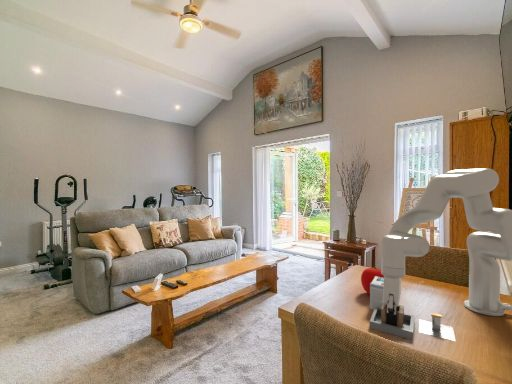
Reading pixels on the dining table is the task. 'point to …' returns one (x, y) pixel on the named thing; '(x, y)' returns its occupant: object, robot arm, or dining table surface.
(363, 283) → the red rounded piece
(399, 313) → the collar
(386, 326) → the tray
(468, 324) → the dining table surface
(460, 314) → the dining table surface
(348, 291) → the dining table surface
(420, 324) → the white piece
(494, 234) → the robot arm
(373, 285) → the light bulb box
